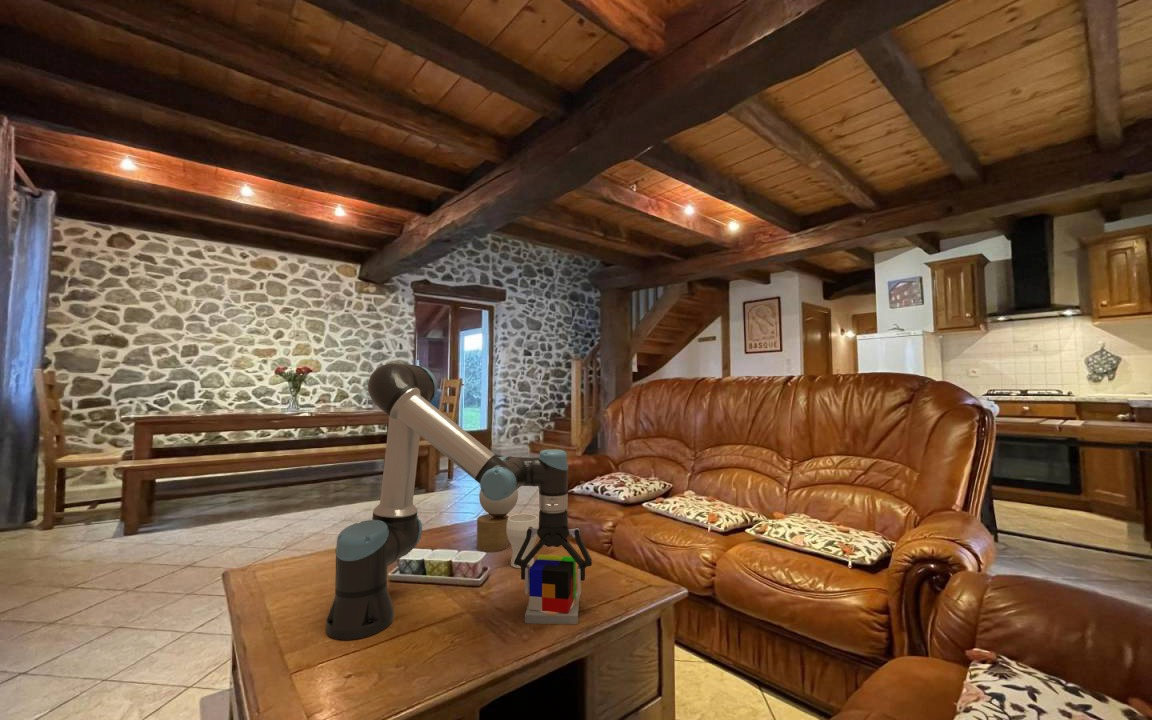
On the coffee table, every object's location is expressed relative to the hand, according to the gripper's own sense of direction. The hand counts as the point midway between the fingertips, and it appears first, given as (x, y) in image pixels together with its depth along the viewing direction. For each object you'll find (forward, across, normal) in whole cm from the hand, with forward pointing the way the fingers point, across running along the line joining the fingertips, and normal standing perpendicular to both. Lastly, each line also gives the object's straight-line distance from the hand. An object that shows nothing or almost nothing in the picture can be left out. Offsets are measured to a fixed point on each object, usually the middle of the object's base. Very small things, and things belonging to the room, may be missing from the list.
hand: (553, 592), depth 119 cm
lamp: (+5, -25, +48) cm, 54 cm away
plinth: (+5, 0, 0) cm, 5 cm away
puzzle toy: (+3, 0, 0) cm, 3 cm away
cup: (+5, -13, +31) cm, 34 cm away
